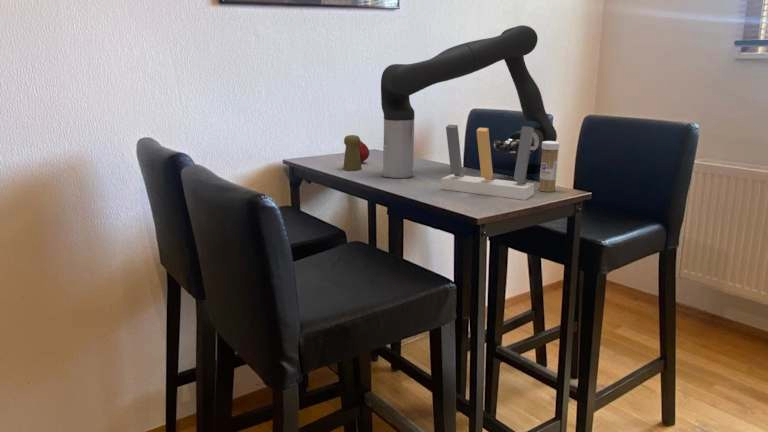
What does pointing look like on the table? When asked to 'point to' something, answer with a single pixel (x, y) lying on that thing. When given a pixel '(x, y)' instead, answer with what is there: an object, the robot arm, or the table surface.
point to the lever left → (454, 149)
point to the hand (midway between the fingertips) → (502, 150)
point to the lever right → (523, 154)
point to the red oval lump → (363, 151)
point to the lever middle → (484, 153)
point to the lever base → (488, 186)
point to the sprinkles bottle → (548, 166)
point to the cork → (352, 153)
